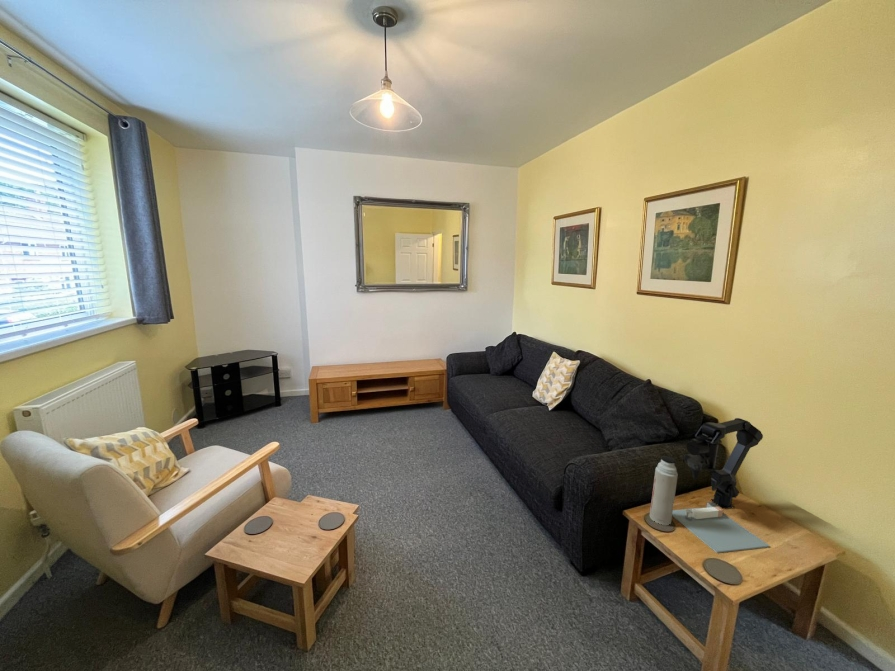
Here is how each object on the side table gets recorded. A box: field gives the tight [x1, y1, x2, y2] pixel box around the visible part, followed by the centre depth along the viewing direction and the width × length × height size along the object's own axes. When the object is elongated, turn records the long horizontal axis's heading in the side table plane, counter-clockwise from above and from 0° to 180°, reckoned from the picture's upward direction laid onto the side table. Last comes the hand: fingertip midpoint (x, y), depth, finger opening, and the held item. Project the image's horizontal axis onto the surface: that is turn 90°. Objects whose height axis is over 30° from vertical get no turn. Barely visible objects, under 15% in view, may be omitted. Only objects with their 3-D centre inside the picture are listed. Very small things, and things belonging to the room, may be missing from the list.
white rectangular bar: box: [691, 506, 724, 519], centre depth 151 cm, size 13×2×3 cm, turn 100°
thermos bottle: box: [649, 455, 679, 526], centre depth 147 cm, size 8×8×28 cm
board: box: [672, 506, 771, 554], centre depth 145 cm, size 24×24×1 cm
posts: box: [685, 501, 720, 521], centre depth 152 cm, size 18×4×4 cm, turn 109°
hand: (703, 484), depth 155 cm, fingers open, 9 cm apart
